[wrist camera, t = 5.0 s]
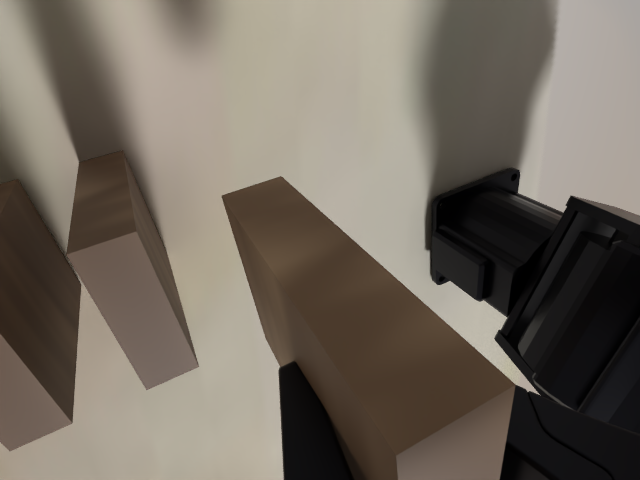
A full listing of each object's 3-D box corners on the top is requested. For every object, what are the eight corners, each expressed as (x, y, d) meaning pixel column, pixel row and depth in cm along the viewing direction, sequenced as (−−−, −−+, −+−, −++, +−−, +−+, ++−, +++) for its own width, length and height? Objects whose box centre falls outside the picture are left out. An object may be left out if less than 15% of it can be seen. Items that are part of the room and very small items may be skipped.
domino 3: (281, 176, 11) (516, 385, 5) (311, 317, 13) (484, 564, 7) (221, 195, 10) (396, 455, 4) (265, 338, 13) (410, 620, 7)
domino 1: (17, 179, 15) (-36, 288, 9) (81, 284, 18) (72, 423, 12) (-33, 192, 14) (-124, 318, 8) (40, 299, 17) (9, 451, 11)
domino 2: (122, 150, 16) (136, 231, 10) (167, 254, 19) (198, 366, 13) (79, 162, 15) (66, 254, 10) (131, 267, 18) (146, 389, 12)
